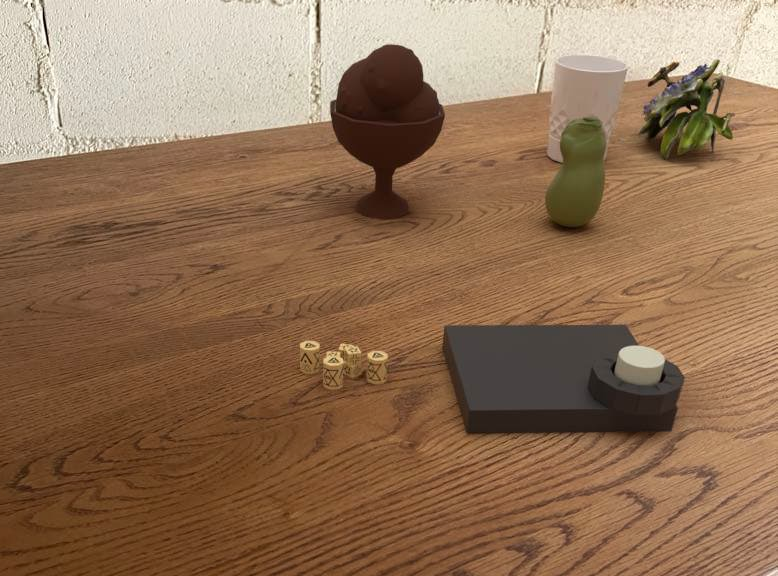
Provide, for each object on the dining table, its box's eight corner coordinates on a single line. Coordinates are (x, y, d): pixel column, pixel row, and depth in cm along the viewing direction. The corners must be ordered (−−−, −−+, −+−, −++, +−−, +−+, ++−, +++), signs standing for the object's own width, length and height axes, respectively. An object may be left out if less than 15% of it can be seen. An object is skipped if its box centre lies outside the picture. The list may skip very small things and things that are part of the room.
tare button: (651, 365, 63) (656, 345, 62) (665, 388, 61) (671, 367, 60) (608, 365, 63) (613, 345, 62) (621, 388, 61) (626, 367, 60)
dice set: (390, 382, 66) (392, 358, 65) (327, 398, 64) (327, 374, 63) (356, 351, 70) (357, 327, 68) (295, 366, 67) (294, 342, 66)
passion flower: (641, 185, 117) (654, 88, 116) (732, 183, 113) (746, 82, 112) (627, 151, 107) (641, 45, 106) (728, 147, 102) (743, 36, 102)
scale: (626, 346, 72) (636, 304, 69) (682, 439, 62) (696, 393, 60) (442, 347, 70) (446, 304, 68) (469, 442, 61) (474, 396, 58)
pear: (583, 240, 88) (603, 129, 82) (532, 227, 90) (548, 118, 84) (604, 222, 92) (625, 115, 85) (554, 210, 94) (572, 105, 87)
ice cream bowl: (456, 205, 94) (472, 41, 84) (396, 238, 87) (406, 62, 77) (370, 182, 98) (375, 23, 89) (306, 212, 91) (304, 42, 82)
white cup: (527, 154, 108) (540, 59, 101) (570, 142, 112) (585, 50, 105) (581, 172, 103) (598, 75, 97) (623, 159, 107) (642, 65, 101)
